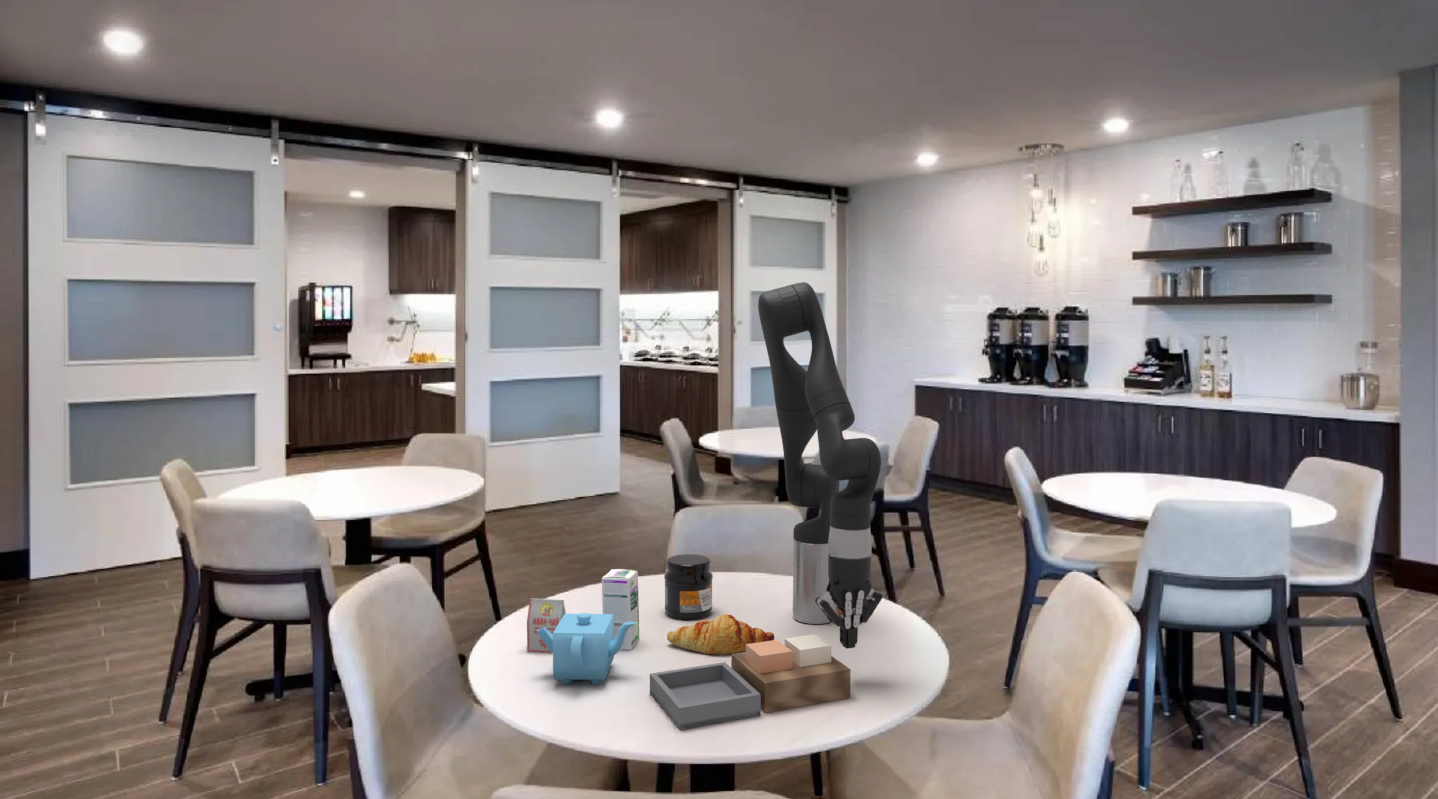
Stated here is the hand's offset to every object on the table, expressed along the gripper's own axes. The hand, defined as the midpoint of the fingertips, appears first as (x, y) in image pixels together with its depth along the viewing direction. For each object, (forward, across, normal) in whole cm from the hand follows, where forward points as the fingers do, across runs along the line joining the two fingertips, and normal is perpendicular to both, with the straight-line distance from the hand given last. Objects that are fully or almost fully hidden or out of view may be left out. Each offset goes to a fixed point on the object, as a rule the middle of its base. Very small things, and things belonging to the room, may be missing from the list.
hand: (848, 646), depth 162 cm
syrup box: (+6, +32, -32) cm, 46 cm away
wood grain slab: (+6, +12, 0) cm, 13 cm away
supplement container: (+6, +14, -45) cm, 47 cm away
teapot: (+6, +43, -19) cm, 47 cm away
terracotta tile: (+1, +16, 0) cm, 16 cm away
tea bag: (+6, +46, -35) cm, 59 cm away
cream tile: (+1, +8, 0) cm, 8 cm away
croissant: (+6, +15, -24) cm, 29 cm away
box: (+6, +28, 0) cm, 28 cm away
